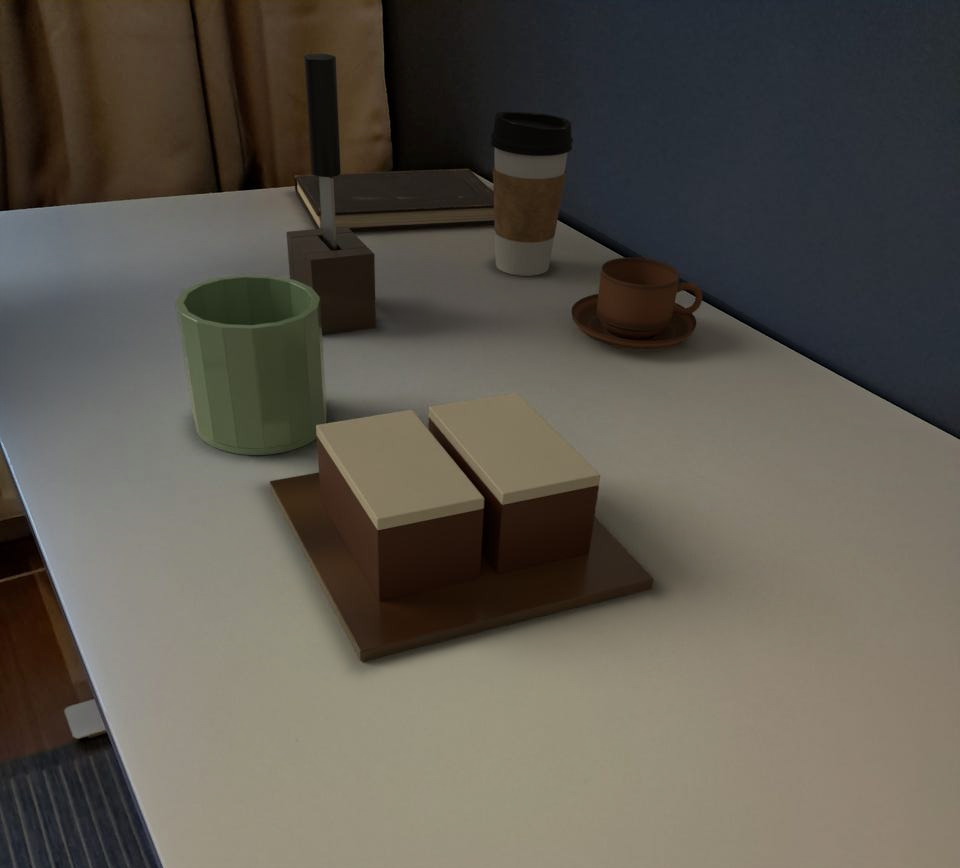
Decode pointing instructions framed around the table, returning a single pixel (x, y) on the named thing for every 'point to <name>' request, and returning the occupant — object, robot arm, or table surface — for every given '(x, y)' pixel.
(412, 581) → the block
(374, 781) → the table surface
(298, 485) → the cake board
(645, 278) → the cup and saucer
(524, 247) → the coffee cup
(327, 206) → the knife
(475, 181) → the hardcover book
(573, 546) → the cake slice
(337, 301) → the knife block
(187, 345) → the cup
